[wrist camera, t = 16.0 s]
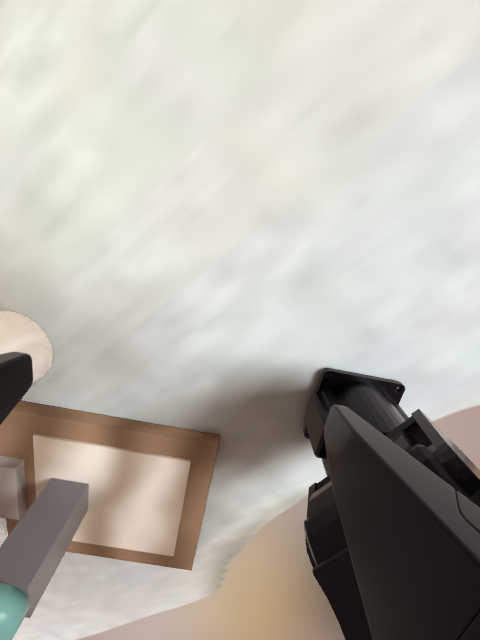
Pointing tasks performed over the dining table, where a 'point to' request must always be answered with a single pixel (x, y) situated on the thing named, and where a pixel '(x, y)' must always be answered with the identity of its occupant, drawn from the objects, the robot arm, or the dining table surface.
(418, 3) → the dining table surface
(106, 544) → the wooden tray
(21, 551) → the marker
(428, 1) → the dining table surface
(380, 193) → the dining table surface
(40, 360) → the metal tumbler
